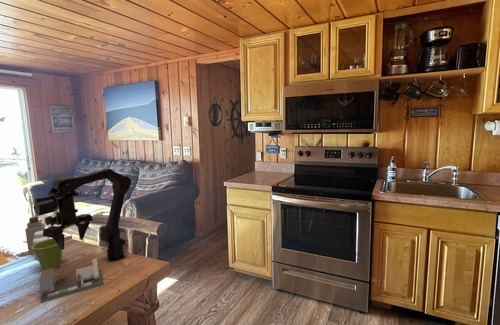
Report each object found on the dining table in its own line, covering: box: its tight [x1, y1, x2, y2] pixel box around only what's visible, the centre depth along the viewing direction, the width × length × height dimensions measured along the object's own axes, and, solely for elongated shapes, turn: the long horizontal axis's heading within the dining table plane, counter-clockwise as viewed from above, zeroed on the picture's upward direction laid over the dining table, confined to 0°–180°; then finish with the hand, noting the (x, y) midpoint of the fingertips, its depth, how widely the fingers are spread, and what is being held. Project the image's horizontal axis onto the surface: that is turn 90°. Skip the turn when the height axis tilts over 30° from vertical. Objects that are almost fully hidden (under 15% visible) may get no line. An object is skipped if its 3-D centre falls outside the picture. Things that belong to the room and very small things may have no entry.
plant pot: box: [32, 238, 63, 271], centre depth 126 cm, size 12×12×11 cm
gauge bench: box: [38, 268, 104, 304], centre depth 110 cm, size 20×12×7 cm, turn 121°
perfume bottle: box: [24, 216, 46, 257], centre depth 143 cm, size 7×7×18 cm
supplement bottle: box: [33, 231, 51, 261], centre depth 136 cm, size 7×7×13 cm
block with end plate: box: [75, 257, 99, 285], centre depth 113 cm, size 8×10×6 cm
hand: (72, 244), depth 117 cm, fingers open, 9 cm apart
